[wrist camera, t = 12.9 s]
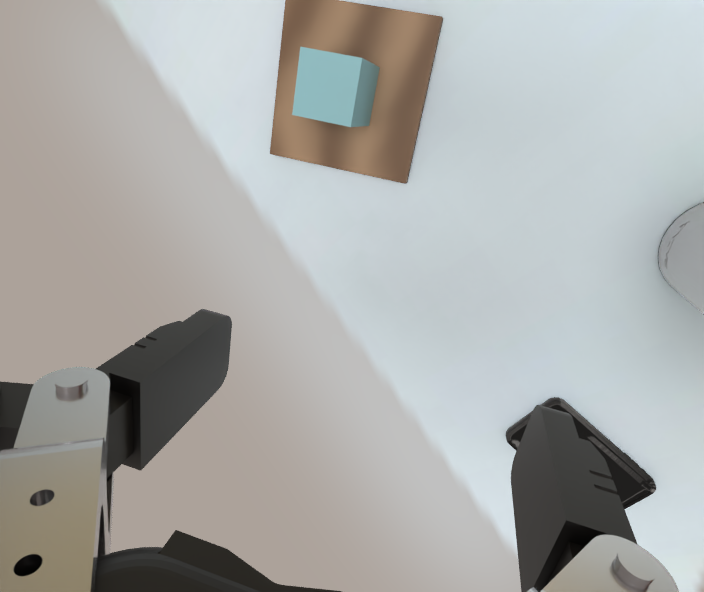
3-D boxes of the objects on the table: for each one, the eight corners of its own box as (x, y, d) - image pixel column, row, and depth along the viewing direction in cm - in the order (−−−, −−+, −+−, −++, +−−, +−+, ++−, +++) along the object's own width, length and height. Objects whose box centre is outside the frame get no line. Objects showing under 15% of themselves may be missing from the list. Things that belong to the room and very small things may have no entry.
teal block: (379, 67, 41) (362, 58, 35) (369, 126, 43) (350, 127, 37) (326, 57, 42) (300, 46, 36) (318, 115, 44) (292, 114, 38)
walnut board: (442, 19, 40) (442, 16, 39) (406, 182, 45) (405, 183, 44) (290, -5, 42) (286, -8, 41) (273, 153, 48) (269, 153, 47)
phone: (599, 523, 52) (501, 437, 52) (597, 515, 54) (501, 431, 53) (662, 488, 49) (558, 397, 48) (658, 480, 50) (556, 391, 49)
